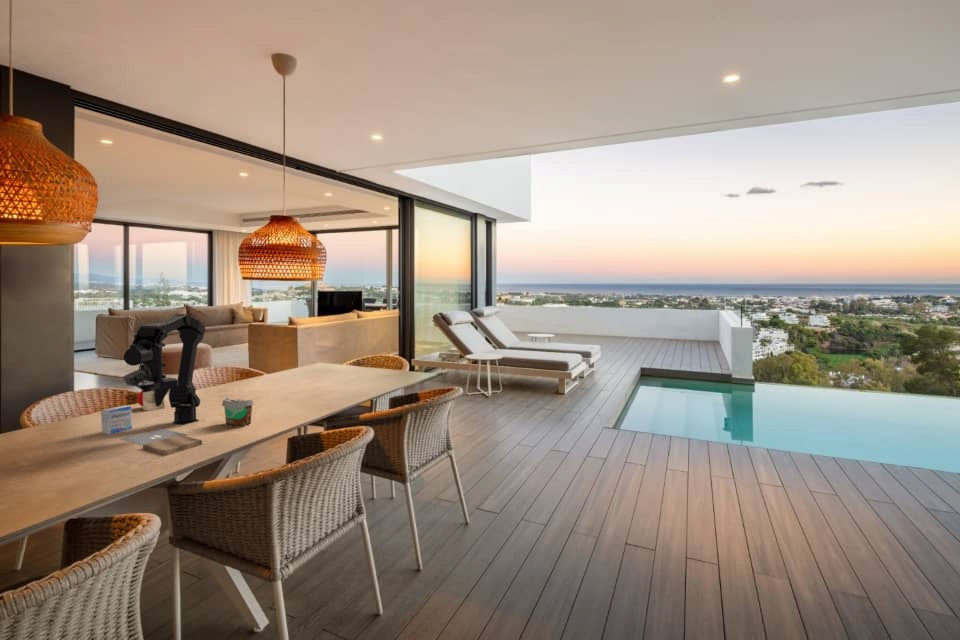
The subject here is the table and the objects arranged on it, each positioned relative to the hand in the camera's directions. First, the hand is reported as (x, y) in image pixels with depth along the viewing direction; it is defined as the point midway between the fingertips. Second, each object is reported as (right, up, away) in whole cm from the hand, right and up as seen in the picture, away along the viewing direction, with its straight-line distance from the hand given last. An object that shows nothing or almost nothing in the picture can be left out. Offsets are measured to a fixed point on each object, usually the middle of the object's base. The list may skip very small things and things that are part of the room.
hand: (153, 405), depth 168 cm
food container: (+20, -11, +17) cm, 28 cm away
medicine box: (-18, -11, +7) cm, 22 cm away
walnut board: (+12, -12, -8) cm, 19 cm away
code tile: (0, -11, +1) cm, 12 cm away
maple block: (0, -1, 0) cm, 1 cm away
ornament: (-28, -8, +40) cm, 49 cm away
